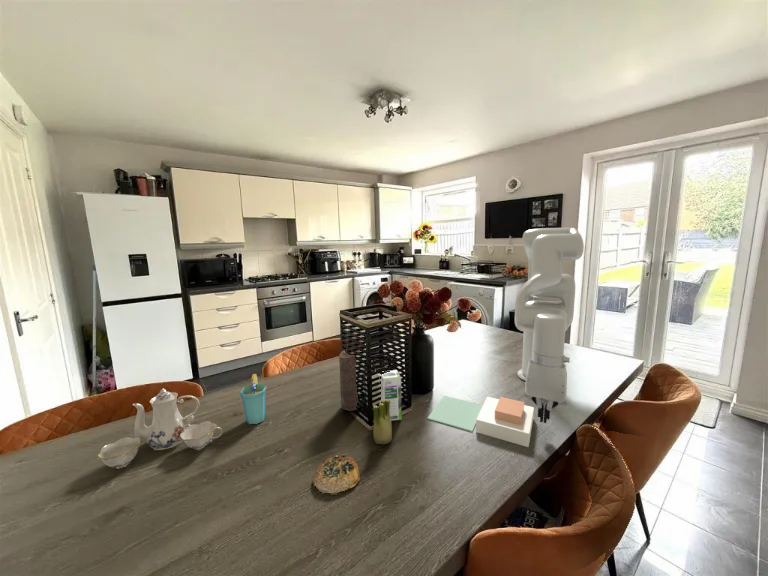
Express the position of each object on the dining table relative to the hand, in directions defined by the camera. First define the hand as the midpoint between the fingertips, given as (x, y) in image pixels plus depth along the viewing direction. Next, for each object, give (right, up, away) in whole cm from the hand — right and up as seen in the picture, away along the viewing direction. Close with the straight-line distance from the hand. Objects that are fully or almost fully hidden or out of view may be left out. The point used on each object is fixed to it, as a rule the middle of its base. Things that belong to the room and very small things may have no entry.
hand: (543, 420), depth 87 cm
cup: (-86, -5, +10) cm, 86 cm away
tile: (-8, 0, +5) cm, 9 cm away
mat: (-21, -3, +13) cm, 25 cm away
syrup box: (-43, -4, +12) cm, 45 cm away
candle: (-56, -3, +17) cm, 59 cm away
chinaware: (-106, -7, -1) cm, 106 cm away
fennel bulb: (-46, -6, 0) cm, 46 cm away
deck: (-9, -4, +6) cm, 11 cm away
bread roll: (-56, -8, -14) cm, 59 cm away
